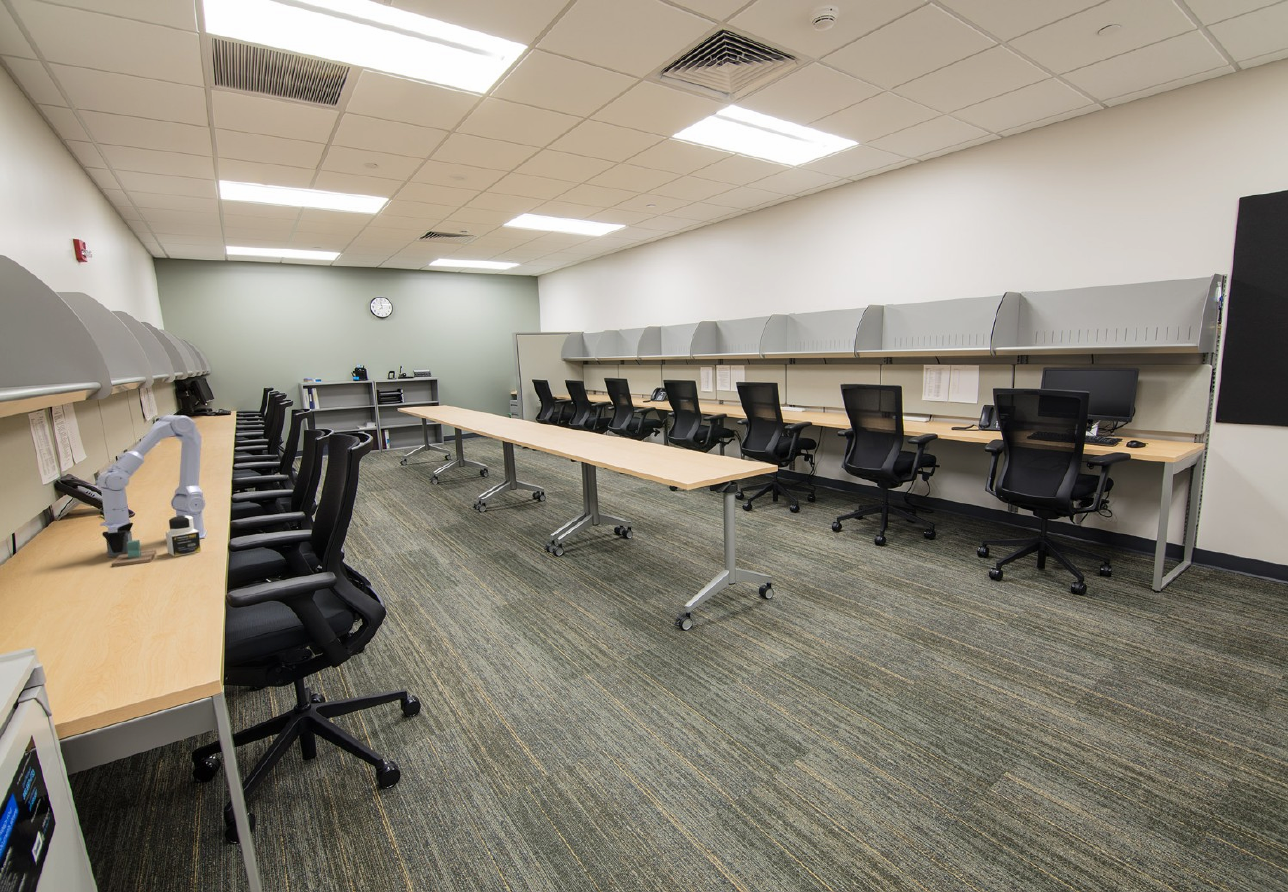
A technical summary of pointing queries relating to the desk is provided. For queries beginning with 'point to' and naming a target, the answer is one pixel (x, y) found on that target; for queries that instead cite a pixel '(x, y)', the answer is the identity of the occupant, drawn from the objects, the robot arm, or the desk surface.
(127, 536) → the grey block
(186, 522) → the medicine bottle
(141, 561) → the stand
